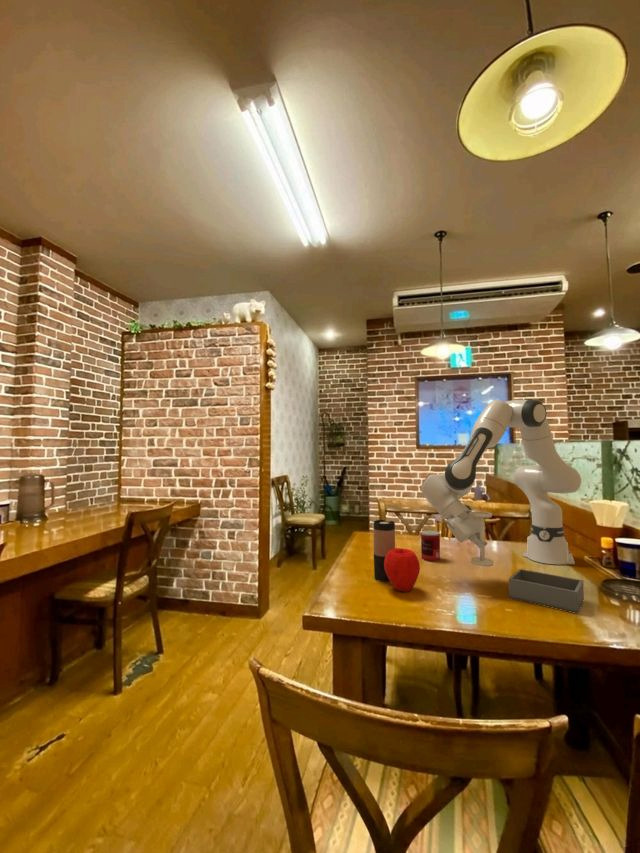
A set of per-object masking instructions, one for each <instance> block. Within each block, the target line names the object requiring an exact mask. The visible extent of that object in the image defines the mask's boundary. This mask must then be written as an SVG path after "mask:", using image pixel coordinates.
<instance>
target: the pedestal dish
mask: <svg viewBox="0 0 640 853" xmlns="http://www.w3.org/2000/svg"><path fill="white" fill-rule="evenodd" d="M472 512H473V516H476V517H478V518H479V519H480V541H482V542H483V543H484V544H485V541H486V539H485V535H486V534H485V530H486V529H485V527H486V526H485V525H486V524H485V518H487V519H488V518H489V519H490V518H492V516H493V515H492V512H489V511H482V510H478V511H477V510H475V511H472ZM485 547H486V546H484V547H483V548H481V549H480V548H479V557H476V556H475V557H471V559H470V562H471V564H473V565H475V566H479V567H493V566H494V561H493V560H492V559H490V558H487V557H485V555H486V554H485V551H486V550H485V549H486V548H485Z"/></svg>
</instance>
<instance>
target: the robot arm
mask: <svg viewBox="0 0 640 853" xmlns="http://www.w3.org/2000/svg"><path fill="white" fill-rule="evenodd" d="M474 422H475V423H474V425H473V426H472V430H471V433H470V438H469V440H468V442H467V444H466V445H465V447H464V448H463V450H462V452H461V453H460V454H459V456H457V457H456V458H455V459H454V460H452V461H451V462H449V463H448V464H447V465H446V468H445V469H444V473H440V474H439V473H438V474H430V475H428V476H427V477H426V478H425V479H424V480H423V482H422V483H421V486H420V492H421V494H422V495H423V497H424V498H425V499H426V500H427V502H428V503H429V504H430V506H431V507H433V508H434V509H436V511H437V512H438V514H439V516H440V517H441V518H442V519H443V521H444V522H445V523H446V526H447V528H448V530H449V531H450V532H451V534H452V535H453V536H454V538H455V539H456V540H457V541H458V542H460V543H464V542H465V541H467V540H469V541H470V542H472V543H473V544H474V545H476V547H478V548H479V550H480V549H481V548H483V547H484V546H485V547H486V546H487V545H488V541H486V540H485V544H484V543H483V542H482V541H480V517H476V516H473V512H474V511H473V510H474V509H473V507H471V506H470V505H468V504H465V503H464V502H462V501H461V500H460V499H461V498H463V497H465V496H466V495H468V494H469V493H470V492H471V490H472V488H473V485H474V482H475V480H476V476H477V475H476V474H477V465H478V464H479V462H480V460H481V458H482V456H483V455H484V454H485V451H486V450H487V449H490V448H491V449H492V448H494V447H495V446H497V444H498V443H499V442H500V441H501V439H502V438H503V436H504V435H505V433H506V431H507V429H508V428H513V429H515V428H519V431H520V437H521V443H522V446H523V450H524V454H525V456H526V457H527V458H528V459H529V460H532V461H534V462H535V463H536V464H537V465H535V464H534V465H533V464H532V465H524V466H519V467H517V468H516V470H515V471H514V473H513V481H514V484H515V485H516V486H517V487H518V489H520V490H521V491H522V492H523V493H524V495H525V496H526V498H527V499H528V501H529V505H530V511H531V512H530V513H531V525H530V535H529V536H527V539H526V541H527V542H526V543H527V545H526V552H523V554H522V556H523V557H524V558H528V559H529V560H532V561H534V562H537V563H540V564H541V563H542V564H547V565H549V564H550V565H557V566H558V565H576V563H575V558H574V556H573V553H571V551H570V550H569V542H567V540H566V538H565V528H564V526H563V510H562V507H561V505H560V504H558V503H557V502H556V501H553V500H552V499H551V498H550V496H549V493H552V494H571V493H573V494H574V493H576V492H577V491H579V489H580V488H581V485H582V477H581V474H580V473H579V472H578V470H577V469H575V468H573V467H572V466H570V465H568V463H566V462H565V461H564V460H563V459H562V458H561V456H560V455H559V454H558V452H557V449H556V446H555V443H554V439H553V435H552V430H551V427H550V424H549V421H548V418H547V408H546V407H545V405H544V404H543V403H542V402H541V401H539V400H536V399H514V400H513V399H512V400H507V401H506V400H505V401H504V400H501V399H500V400H499V399H495V400H493V401H491V402H489V403H488V404H487V406H485V408H484V409H483V410H482V411H481V413H480V414H479V415H478V418H477V419H476V420H475V421H474ZM486 528H487V527H486V526H485V530H486Z"/></svg>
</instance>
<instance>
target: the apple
mask: <svg viewBox="0 0 640 853" xmlns="http://www.w3.org/2000/svg"><path fill="white" fill-rule="evenodd" d="M420 568H421V567H420V561H419V558H418V556H417V555H416V553H415V552H414V551H412V550H411V549H407V548H403V547H402V548H400V547H395V548H394V549H392V550H390V551H389V552H388V553H387V554H386V557H385V560H384V569H385V572H386V575H387V577H388V579H389V580H390V584H391V585H392V586H393V588H394V589H396V590H397V591H399V592H406V593H407V592H409V591H411V589H413V587H414V585H415V584H416V582H417V581H418V578H419V574H420Z"/></svg>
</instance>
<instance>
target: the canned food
mask: <svg viewBox="0 0 640 853" xmlns="http://www.w3.org/2000/svg"><path fill="white" fill-rule="evenodd" d="M420 554H421V559H422V560H423V559H424V560H423V561H425V560H426V561H425V562H439V561H440V559H441V535H440V532H439V531H436V530H422V531H420ZM438 560H439V561H438Z"/></svg>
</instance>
